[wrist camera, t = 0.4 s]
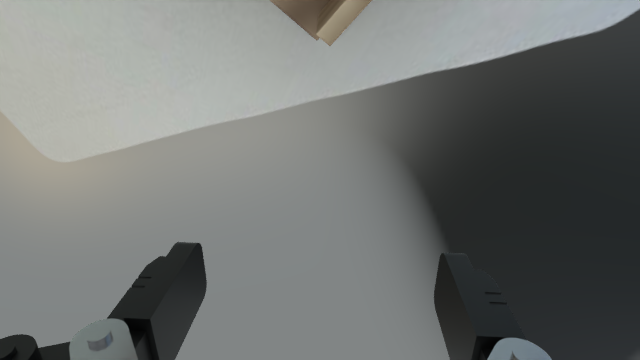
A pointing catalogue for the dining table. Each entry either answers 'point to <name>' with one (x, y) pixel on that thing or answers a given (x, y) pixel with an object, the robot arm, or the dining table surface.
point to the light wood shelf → (322, 15)
